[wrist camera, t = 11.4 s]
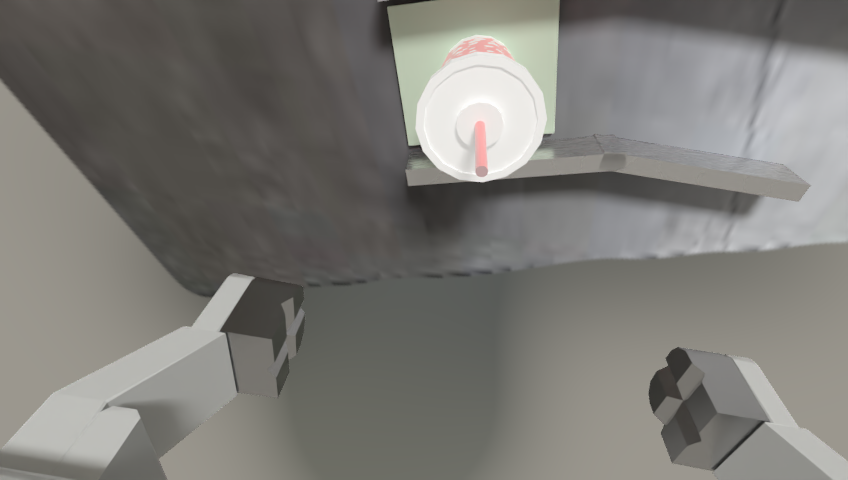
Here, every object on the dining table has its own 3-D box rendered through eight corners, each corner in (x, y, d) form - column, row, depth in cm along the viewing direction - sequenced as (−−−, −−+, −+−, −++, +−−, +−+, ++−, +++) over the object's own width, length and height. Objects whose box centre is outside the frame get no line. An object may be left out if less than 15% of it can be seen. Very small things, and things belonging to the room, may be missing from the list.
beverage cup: (480, 138, 30) (485, 263, 19) (410, 80, 28) (369, 178, 17) (548, 67, 27) (602, 164, 16) (474, -4, 25) (476, 48, 14)
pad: (559, -18, 25) (560, -17, 25) (553, 130, 30) (554, 133, 30) (388, 6, 26) (387, 7, 26) (409, 143, 31) (408, 145, 31)
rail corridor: (910, -26, 23) (961, -22, 21) (745, 220, 32) (767, 244, 30) (388, -112, 23) (378, -117, 21) (370, 159, 32) (361, 178, 30)
